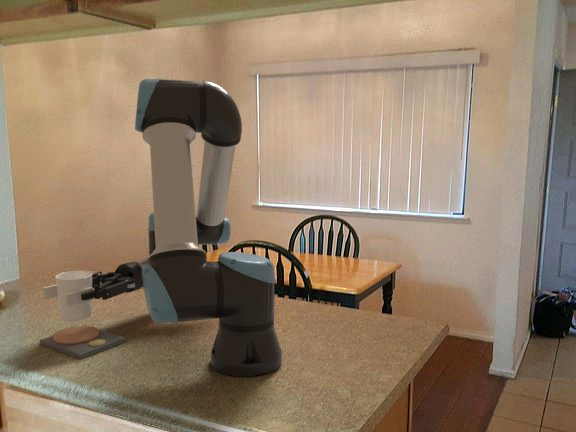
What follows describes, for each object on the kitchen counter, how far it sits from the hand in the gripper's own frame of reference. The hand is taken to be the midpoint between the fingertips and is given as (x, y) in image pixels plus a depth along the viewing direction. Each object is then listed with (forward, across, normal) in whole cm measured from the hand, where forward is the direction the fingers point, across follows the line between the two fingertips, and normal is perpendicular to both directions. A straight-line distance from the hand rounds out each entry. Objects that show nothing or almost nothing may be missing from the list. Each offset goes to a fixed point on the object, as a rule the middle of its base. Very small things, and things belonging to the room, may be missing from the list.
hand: (55, 296), depth 115 cm
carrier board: (-5, -3, -12) cm, 13 cm away
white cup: (-5, 0, -6) cm, 8 cm away
